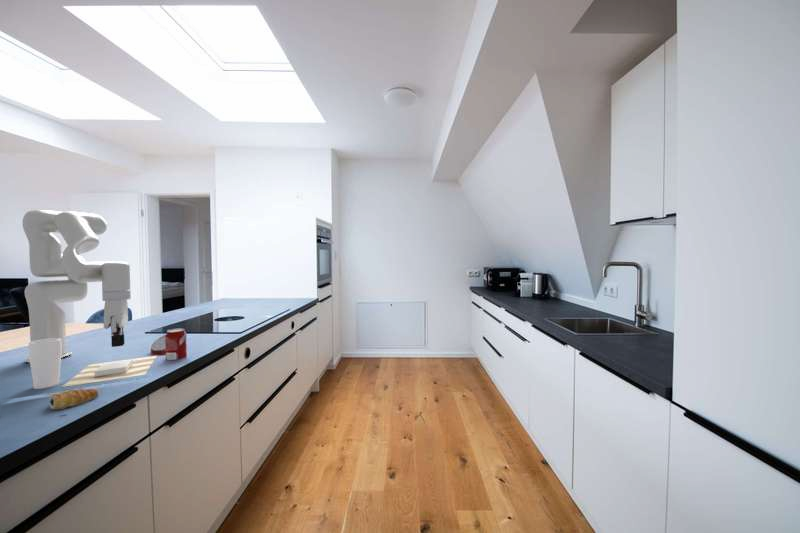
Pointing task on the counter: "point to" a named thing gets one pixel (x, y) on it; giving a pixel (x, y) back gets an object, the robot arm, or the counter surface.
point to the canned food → (158, 346)
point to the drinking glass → (45, 362)
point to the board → (88, 374)
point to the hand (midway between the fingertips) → (118, 345)
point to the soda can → (175, 344)
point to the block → (114, 367)
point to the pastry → (71, 398)
